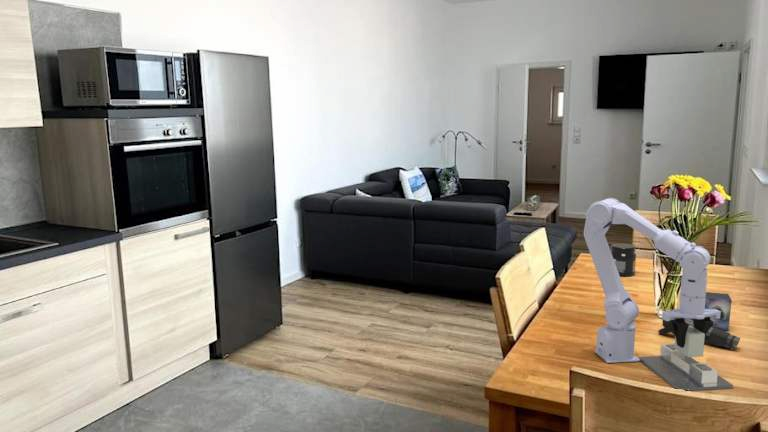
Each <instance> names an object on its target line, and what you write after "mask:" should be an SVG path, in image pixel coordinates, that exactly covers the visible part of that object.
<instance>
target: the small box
mask: <svg viewBox="0 0 768 432" xmlns="http://www.w3.org/2000/svg"><path fill="white" fill-rule="evenodd" d="M732 301H733V300H732V298H731V296H730V295H729V294H728V293H722V292H721V293H720V292H710V291H709V292H708V291H706V298H705V309H717V310H719V311H721V314H720V319H716V318H710V320H712V321H713V326H712V328H717V329H720V330H722V331H725V332H728V333H729V328H730V318H731V310H732ZM690 320H693V319H690Z"/></svg>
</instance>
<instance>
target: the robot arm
mask: <svg viewBox="0 0 768 432" xmlns="http://www.w3.org/2000/svg"><path fill="white" fill-rule="evenodd" d="M584 216H585V221H584V222H585V223H584V228H583V236H584V237H583V238H584V240H585V243H586V246H587V248H588V251H589V254H590V257H591V259H592V263H593V265H594V268H595V270H596V271H595V272H596V273H597V276H598V279H599V281H600V284H601V287H602V289H603V292H604V304H603V305H604V308H605V314H604V315H605V317H604V318H605V321H606V325H603V326H599V327H598V329H597V332H596V340H595V341H596V344H595V350H594V353H596V354H597V355H598V356H599V357H600V358H601V359H602V360H603V361H604V362H605V363H607V364H610V363H612V364H613V363H614V364H615V363H631V362H640V359H639V358H638V357H639V356H637V355H635V342H636V323H635V319H636V318H637V317H638V316H639V314H640V309H639V306H638V304H637V303H636V302H635V301H634V300H633V298H632V296H631V294H630V293H629V292H628V291H627V290H626V289H625V286H624V284H623V282H622V278H621V276H620V275H619V273H618V270H617V267H616V265H615V262H614V259H613V256H612V254H611V247H610V246H609V243H608V240H607V238H606V234H607V232H608V230H609V229H610V227H611V225H626V226H629V227H630V228H632V229H633V230H634V231H637V232H639V233H640V234H641V235H644V236H646V238H649V239H650V240H652V241H653V243H654V247H655V249H657V250H658V251H660V252H662V253H663V254H665V256H667V257H669V258H671V259H673V260H674V261H675V262H677V263H679V265H680V267H681V268H682V269H681V270H682V273H681V274H682V275H681V278H680V279H681V280H680V282H681V283H680V295H679V306H678V308H675V309H671V310H665V311H663V310H662V312H661V319H662V320H663V319H664V320H665V321H670V323H671V325H672V327H673V330H674V333H675V335H674V338H675V337H676V342H677V345H678V346H679V347H681V348H684V345H685V337H686V332H687V329H688V327H689V324H687V323H685V321H684V319H693V324H694V328H695V329H697V330H699V331H701V332H702V333H704V334H705V335H706V334H707V332H708V330H709V329H710V328H711V327H712V326H713V321H712V320H710V318H716V319H720V314H721V311H719V310H717V309H705V298H706V292H707V285H708V284H707V283H708V278H707V276H708V268H707V267H708V266H709V264H710V262H711V258H712V257H711V254H710V253H709V251H708V250H707V249H706V248H705V247H704V246H700V245H697V244H696V243H695V242H694V241H693V242H690V241H688V239H685V238H684V237H682V236H680V235H679V232H678V231H677V230H676V229H673V230H671V229H660V228H659V227H658V226H656V224H653V223H652V222H651V221H649V220H648V219H646V218H645V217H644V216H642V215H641V214H639V213H637V212H636V211H635V210H633V209H632V208H631V207H630V206H628V205H627V204H626V203H623V202H620V201H619V200H618V199H617V198H613V197H607V198H604V199H603V200H599V201H595V202H593V203H592V204H591V205H590V206H589V207H588V209H587V210H586V212H585V214H584Z"/></svg>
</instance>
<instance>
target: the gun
mask: <svg viewBox="0 0 768 432" xmlns="http://www.w3.org/2000/svg"><path fill="white" fill-rule="evenodd" d="M684 321H685V323H687V324H689V326H692V327H694V324H693V320H690V319H684ZM661 323H662V326H663V327H662V328H660V329H659V330H658V334H659V336H665V335H666V334H669V333H671V334H672V335H673V336H675V333H674V330H673V327H672V325H671V323H670V321H665V320H664V319H662V322H661ZM740 340H741V337H740V336H737V335H734V334H731V333H730V332H729V331H728V332H727V331H722V330H720V329H717V328H712V327H711V328H710V329H709V330H708V332H707V334H706V335H705V338H704V342H706V343H708V344H710V345H713V346H715V347H718V348H721V347H724V348H727V349H729V351H733V350H735V347H737V346H738V345H739V342H740Z"/></svg>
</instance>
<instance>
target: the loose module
mask: <svg viewBox="0 0 768 432" xmlns="http://www.w3.org/2000/svg"><path fill="white" fill-rule="evenodd" d="M704 338H705V334H704V333H702V332H701V331H699V330H697V329H695V328H694V327H692V326H689V327H688V329H687V332H686V337H685V345H684V348H681V347H679V346H678V345H677V342H676V337H675V336H674V343H675V346H674V348H675V349H676V350H678V351H679V352H681V353H682V354H684V355H685V356H687V357H691V358H699V357H700V358H702V357H704V349H705V341H704Z"/></svg>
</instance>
